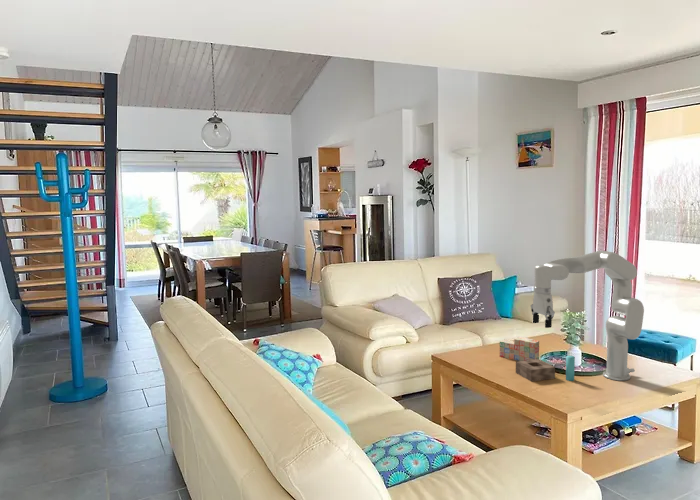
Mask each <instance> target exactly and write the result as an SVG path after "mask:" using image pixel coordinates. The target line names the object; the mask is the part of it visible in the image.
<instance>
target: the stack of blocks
mask: <svg viewBox="0 0 700 500" xmlns="http://www.w3.org/2000/svg"><path fill="white" fill-rule="evenodd" d="M499 357H501V358H505V359H509V360H514V361H517V362H518V361H527V360H535V359H539V360H540V340H536V339H533V338H528V337H522V336H518V337H516V338H514V340H509V339H502V340H499Z"/></svg>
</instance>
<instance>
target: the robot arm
mask: <svg viewBox="0 0 700 500" xmlns="http://www.w3.org/2000/svg"><path fill="white" fill-rule="evenodd" d="M598 269H604V273H605V274H606V275H607V276H608V277H609V279H610V281H612V285H613V288H612V289H613V291H612V296H611V297H612V298H611V310H612V311H613V312H614V313H615V314H618V315H612V316H610V317H608V318H607V319H606V322H605V332H606V336H607V341H606V344H607V345H606V369H605V371H603V372H602V376H603V377H604V378H606V379H609V380H613V381H629V380H630V379H631V374H630V373H635V371H636V370H635V368H634V367H632V368H629V367H628V359H629V358H628V351H629V343H628V340H636V339H638V338H639V337H640V335H641V332H642V330H643V328H642V327H643V323H644V322H643V321H644V313H645V308H644V304H643V302H642V301H641V300H640V299H638V298H636V297H633V296H632V294H633V285H632V280H634V279H636V277H637V275H638V269H637V266H636V265H634V263H632V262H631V261H629V260H627V259H626V258H625V257H623V256H621V255H620V254H618V253H616V252H613V251H608V250H607V251H606V250H597V251H593V252H590V253H586V254H582V255H579V256H571V257H565V258H557V259H554V260H550V261H547V262H546V263H544V264H538V265H535V267H534V294H533V298H532V304H530V309H531V314H532V323H533V324H539V323H540V315H542V316H544V317H545V320H544V328H545V329H548V328H552V324H553V322H552V321H553V319H554V316H555V310H554V304H553V303H554V302H553V301H554V300H553V297H552V294H551V293H552V280H553V281H564V280H566V279H567V278H568V277H569V275H570V274H584V273H589V272H592V271H595V270H598ZM539 314H540V315H539ZM619 315H621V316H619ZM622 316H623V317H622ZM624 316H625V317H624Z"/></svg>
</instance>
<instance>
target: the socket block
mask: <svg viewBox="0 0 700 500" xmlns="http://www.w3.org/2000/svg"><path fill="white" fill-rule="evenodd" d="M515 374H517V375H519V376H521V377H522V378H524V379H526V380H528V381H530V382H537V381H545V380H553V379H556V366H554V365H551V364H550V363H547V362H546V361H543V360H541V359H540V358H539V359H535V360H527V361H518V360H517V361H515Z"/></svg>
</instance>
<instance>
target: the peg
mask: <svg viewBox="0 0 700 500" xmlns="http://www.w3.org/2000/svg"><path fill="white" fill-rule="evenodd" d="M575 359H576V358H575V356H574V355H566V357H565V380H566V381H568V382H574V381H575V369H576V366H575V365H576V364H575V363H576V362H575Z"/></svg>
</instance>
